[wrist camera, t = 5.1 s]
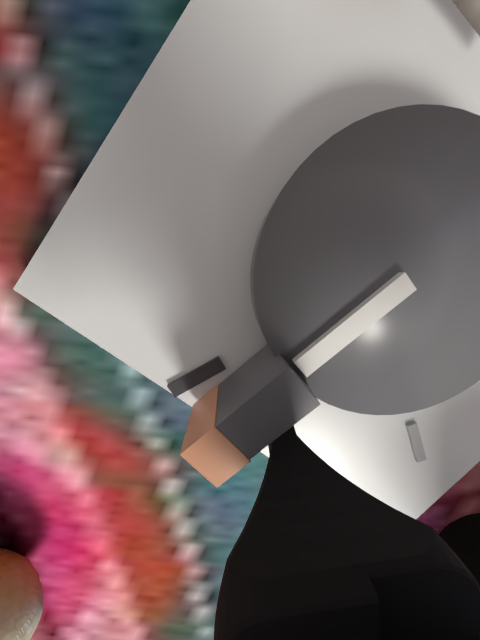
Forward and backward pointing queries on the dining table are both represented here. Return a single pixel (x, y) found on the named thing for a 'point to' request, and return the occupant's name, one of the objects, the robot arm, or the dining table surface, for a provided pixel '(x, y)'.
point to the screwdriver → (470, 12)
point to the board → (251, 207)
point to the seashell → (18, 597)
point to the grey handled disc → (358, 285)
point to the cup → (465, 542)
